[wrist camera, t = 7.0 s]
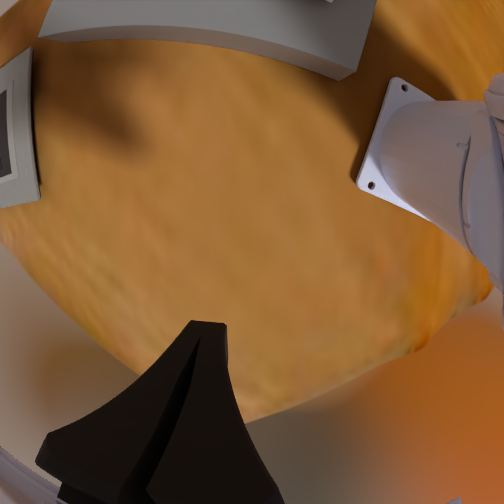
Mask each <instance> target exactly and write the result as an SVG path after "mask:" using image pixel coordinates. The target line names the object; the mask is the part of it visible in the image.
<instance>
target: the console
mask: <svg viewBox="0 0 504 504" xmlns="http://www.w3.org/2000/svg"><path fill="white" fill-rule="evenodd" d="M376 1H377V0H333V1H332V3H331V2H328V1H325V0H52V3H51V5H50V7H49V9H48V12H47V14H46V17H45V19H44V22H43V24H42V27H41V30H40V32H39V35H38V38H43V39H49V40H54V41H59V42H63V43H73V42H82V41H93V40H111V39H149V40H167V41H179V42H188V43H196V44H204V45H211V46H217V47H222V48H228V49H233V50H238V51H243V52H247V53H252V54H256V55H260V56H264V57H268V58H271V59H275V60H279V61H282V62H285V63H289V64H292V65H295V66H298V67H301V68H304V69H307V70H310V71H313V72H316V73H319V74H321V75H324V76H327V77H329V78H332V79H334V80H337V81H340V80H342V79H344V78H346V77H347V76H349V75H351V74H353V73H355V72H356V70H357V67H358V64H359V61H360V57H361V54H362V51H363V47H364V44H365V40H366V37H367V34H368V30H369V26H370V23H371V19H372V16H373V12H374V8H375V5H376Z"/></svg>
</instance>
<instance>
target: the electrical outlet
mask: <svg viewBox="0 0 504 504" xmlns="http://www.w3.org/2000/svg"><path fill="white" fill-rule="evenodd" d="M33 53H34V50H33V47H29V48H28V49H26V50H25V51H23V52H22V53H21V54H19V55H18V56H16V57H15V58H14V59H12V60H11V61H10V62H8V63H7V64H6V65H4V66H3V67H2V68H1V69H0V208H5V207H9V206H14V205H18V204H23V203H28V202H33V201H38V200H40V199H41V193H40V188H39V182H38V176H37V170H36V162H35V154H34V145H33V133H32V114H31V83H32V65H33Z"/></svg>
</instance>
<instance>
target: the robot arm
mask: <svg viewBox="0 0 504 504" xmlns="http://www.w3.org/2000/svg"><path fill="white" fill-rule="evenodd" d="M402 85H404V86H405V88H406V91H405V92H404V91H403V90H402V88H401V86H402ZM483 97H484V100H485V101H436V100H435V99H433V98H432V97H430V96H429V95H427V94H426V93H424V92H422V91H421V90H419V89H418V88H416V87H414V86H413V85H411V84H409V83H408V82H406V81H404V80H403V79H401V78H399V77H394V78H392V79H390V81H389V85H388V88H387V91H386V95H385V98H384V101H383V104H382V107H381V110H380V114H379V117H378V120H377V123H376V126H375V129H374V132H373V134H372V137H371V140H370V143H369V146H368V149H367V152H366V154H365V157H364V160H363V162H362V165H361V168H360V170H359V173H358V176H357V178H356V185H357V187H358V188H360V189H361V190H363V191H366V192H368V193H370V194H373V195H375V196H377V197H380V198H382V199H384V200H386V201H389V202H391V203H393V204H395V205H398V206H400V207H402V208H404V209H406V210H408V211H410V212H412V213H415V214H417V215H419V216H421V217H423V218H425V219H427V220H429V221H431V222H433V223H434V224H435V225H437V226H438V227H439V228H441V229H442V230H443V231H444V232H446V233H447V234H448V235H449V236H451V237H452V238H453V239H454V240H456V241H457V242H458V243H459V244H460V245H462V246H463V247H464V248H465V249H466V250H467V251H469V252H470V253H471V254H472V255H473V256H474V257H476V258H477V259H478V260H479V261H480V262H481V263H482V264H483V265H484V266H485V267H486V268H487V270H488V273H489V280H490V281H491V282H492V283H493V284H494V285H495V287H496V288H497V289H499V291H500V292H501V293H502V294H504V73H500V74H497V75H495V76H493V77H492V80H491V82H490V84H489V87H488V89H486V90H485V92H484V94H483ZM369 182H373V186H372V188H368V183H369ZM501 315H502V324H503V331H504V296H503V302H502V310H501ZM227 366H228V344H227V326H226V325H225V324H224V323H216V322H205V321H194V320H191V321H190V322H189V323H188V324H187V325H186V327H185V328H184V329H183V330H182V332H181V333H180V334H179V335H178V337H177V338H176V339H175V340H174V341H173V343H172V344H171V345H170V346H169V347H168V348H167V349H166V351H165V352H164V353H163V354H162V355H161V356H160V357H159V358H158V359H157V361H156V362H155V363H154V364H153V365H152V366H151V367H150V368H149V369H148V370H147V371H146V372H145V373H144V374H142V375H141V376H140V377H139V378H138V379H137V380H136V381H135V382H134V383H133V384H131V385H130V386H129V387H128V388H126V390H124V391H123V392H121V393H120V394H119V395H117V396H116V397H115V398H113V399H112V400H111V401H109V402H108V403H106V404H105V405H103V406H102V407H100V408H99V409H97V410H95V411H93V412H92V413H90V414H88V415H87V416H85V417H83V418H81V419H80V420H77V421H75V422H73V423H71V424H69V425H67V426H64V427H62V428H60V429H57V430H55V431H53V432H50V433H48V434H47V436H46V438H45V440H44V442H43V444H42V446H41V448H40V450H39V453H38V455H37V457H36V460H35V462H36V465H38V466H39V467H40V468H42V469H43V470H45V471H46V472H47V473H49V474H50V475H52V476H54V477H55V478H57V479H58V480H60V481H61V482H62V484H61V487H58V486H56V485H54V484H53V483H51V482H49V481H48V480H46V479H45V478H43V477H41V476H40V475H38V474H37V473H35V472H34V471H32V470H31V469H29V468H28V467H26V466H25V465H24V464H22V463H21V462H19V461H18V460H17V459H15V458H14V457H13V456H12V455H11V454H9V453H8V452H7V451H6V450H4V449H3V448H2V447H1V446H0V504H285V503H284V500H283V498H282V496H281V494H280V491H279V489H278V487H277V485H276V483H275V482H274V480H273V478H272V477H271V475H270V474H269V472H268V470H267V469H266V467H265V465H264V463H263V462H262V460H261V458H260V456H259V454H258V452H257V450H256V448H255V446H254V444H253V442H252V440H251V438H250V436H249V434H248V431H247V429H246V427H245V424H244V422H243V419H242V417H241V414H240V411H239V408H238V405H237V402H236V399H235V396H234V393H233V389H232V385H231V381H230V377H229V372H228V367H227ZM446 504H461V500H460V498H459V497H458V498H456V499H454V500H452V501H450V502H448V503H446Z"/></svg>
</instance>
